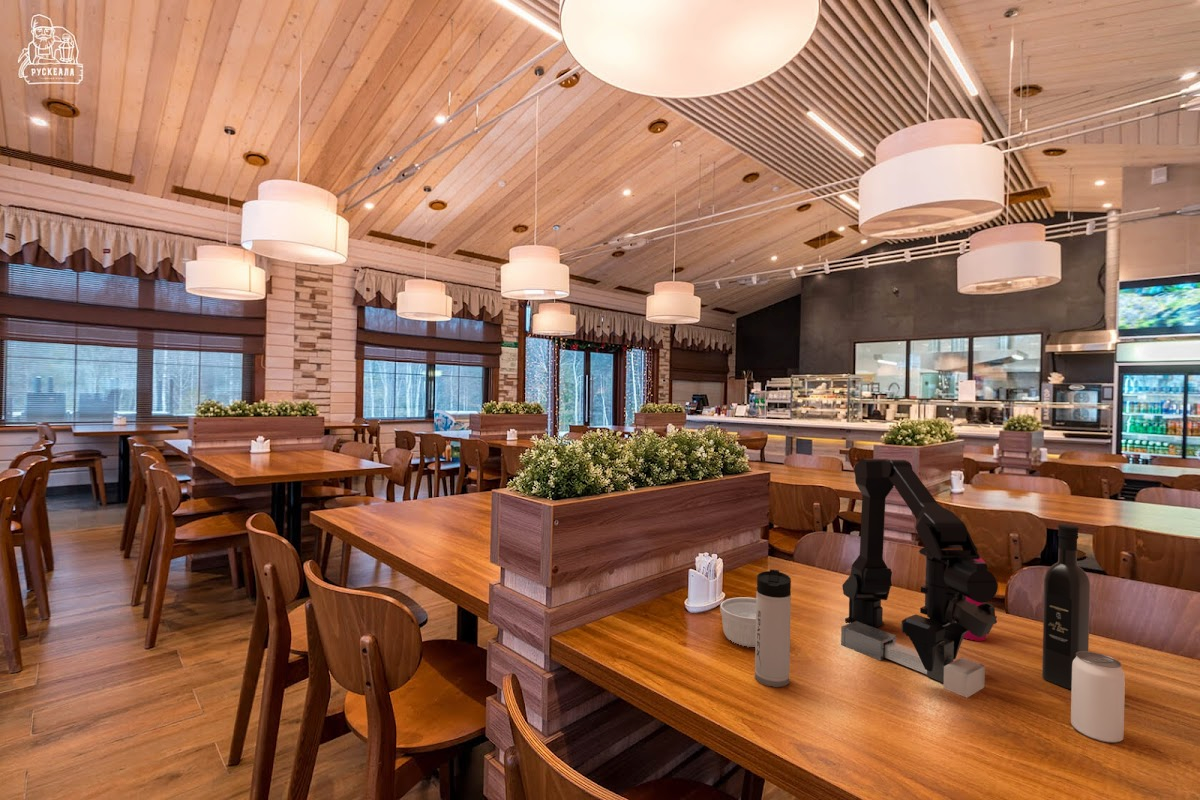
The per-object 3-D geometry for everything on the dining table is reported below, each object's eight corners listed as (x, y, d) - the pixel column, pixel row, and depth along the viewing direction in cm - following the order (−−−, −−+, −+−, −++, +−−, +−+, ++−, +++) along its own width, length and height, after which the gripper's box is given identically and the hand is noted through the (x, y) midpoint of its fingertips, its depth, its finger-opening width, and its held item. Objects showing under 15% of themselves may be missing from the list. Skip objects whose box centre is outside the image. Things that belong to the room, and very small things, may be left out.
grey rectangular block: (943, 688, 106) (943, 666, 106) (961, 678, 110) (961, 657, 110) (966, 697, 103) (967, 675, 103) (984, 687, 107) (984, 665, 107)
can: (1060, 721, 96) (1061, 650, 96) (1095, 720, 96) (1097, 649, 96) (1097, 745, 89) (1098, 668, 89) (1135, 743, 90) (1136, 667, 90)
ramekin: (714, 644, 123) (715, 612, 123) (725, 622, 136) (725, 593, 136) (778, 656, 118) (779, 622, 118) (783, 632, 131) (783, 601, 131)
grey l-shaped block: (880, 657, 118) (881, 623, 118) (890, 652, 120) (891, 619, 120) (963, 690, 105) (964, 652, 105) (973, 685, 107) (973, 647, 107)
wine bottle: (1074, 692, 105) (1078, 530, 105) (1039, 678, 110) (1043, 524, 110) (1090, 685, 108) (1093, 527, 108) (1054, 672, 113) (1058, 521, 113)
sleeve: (841, 644, 124) (841, 626, 124) (855, 638, 127) (856, 621, 127) (880, 660, 117) (880, 641, 117) (895, 654, 120) (895, 635, 120)
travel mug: (789, 674, 111) (791, 571, 110) (789, 690, 104) (791, 581, 104) (756, 668, 113) (758, 567, 112) (753, 684, 106) (755, 577, 106)
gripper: (965, 606, 98) (963, 696, 98) (1011, 587, 108) (1009, 669, 108) (900, 587, 107) (898, 670, 107) (948, 571, 117) (947, 647, 118)
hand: (940, 664), depth 110 cm, fingers open, 9 cm apart
